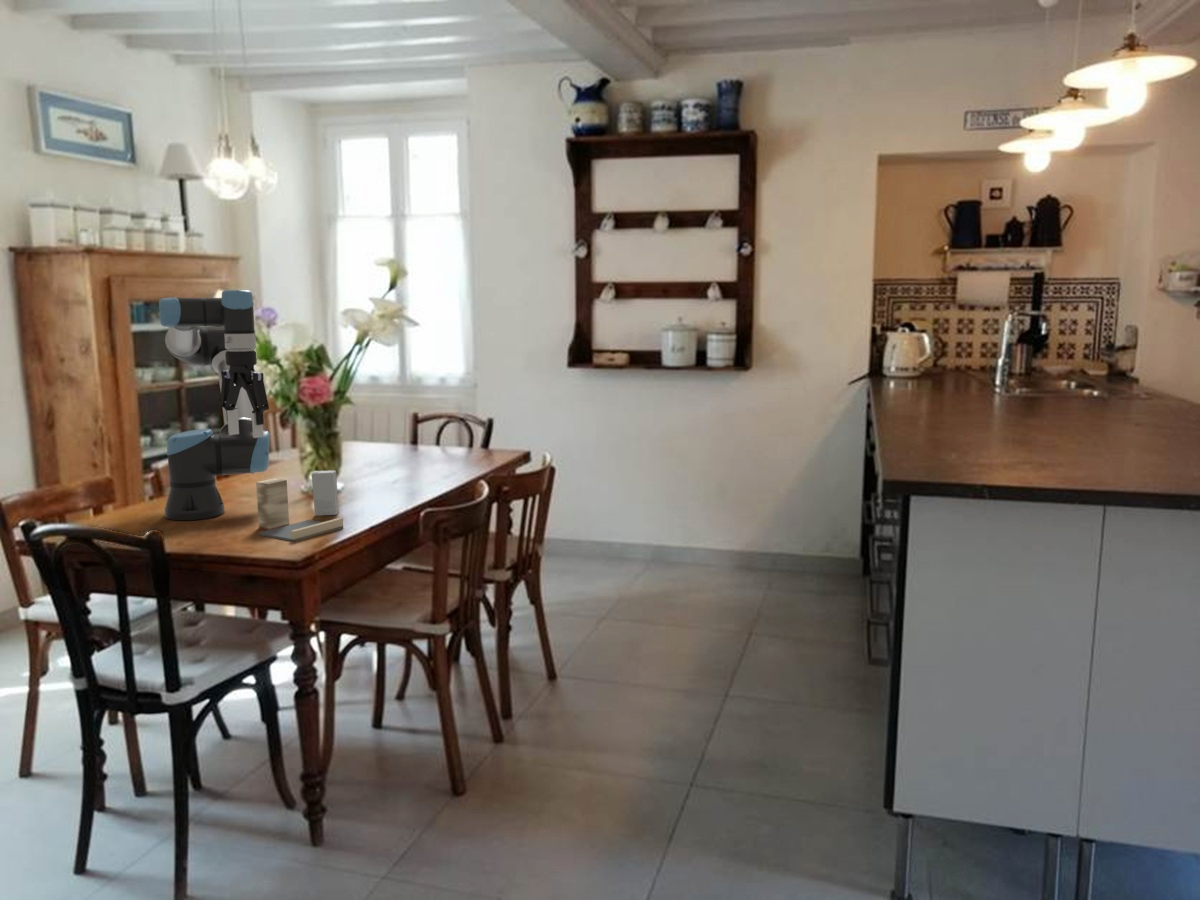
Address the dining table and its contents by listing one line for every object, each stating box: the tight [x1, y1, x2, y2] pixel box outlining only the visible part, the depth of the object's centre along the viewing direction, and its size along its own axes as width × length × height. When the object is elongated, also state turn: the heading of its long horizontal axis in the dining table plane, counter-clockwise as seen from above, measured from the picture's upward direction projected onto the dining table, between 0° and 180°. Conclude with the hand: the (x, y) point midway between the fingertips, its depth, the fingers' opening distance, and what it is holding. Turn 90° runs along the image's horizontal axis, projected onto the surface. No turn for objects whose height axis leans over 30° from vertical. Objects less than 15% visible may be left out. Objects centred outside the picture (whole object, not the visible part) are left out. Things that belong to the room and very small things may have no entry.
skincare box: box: [311, 470, 340, 516], centre depth 252 cm, size 6×4×12 cm
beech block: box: [256, 478, 290, 531], centre depth 238 cm, size 4×6×12 cm
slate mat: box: [258, 517, 344, 543], centre depth 234 cm, size 13×16×3 cm
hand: (246, 435), depth 240 cm, fingers open, 9 cm apart
